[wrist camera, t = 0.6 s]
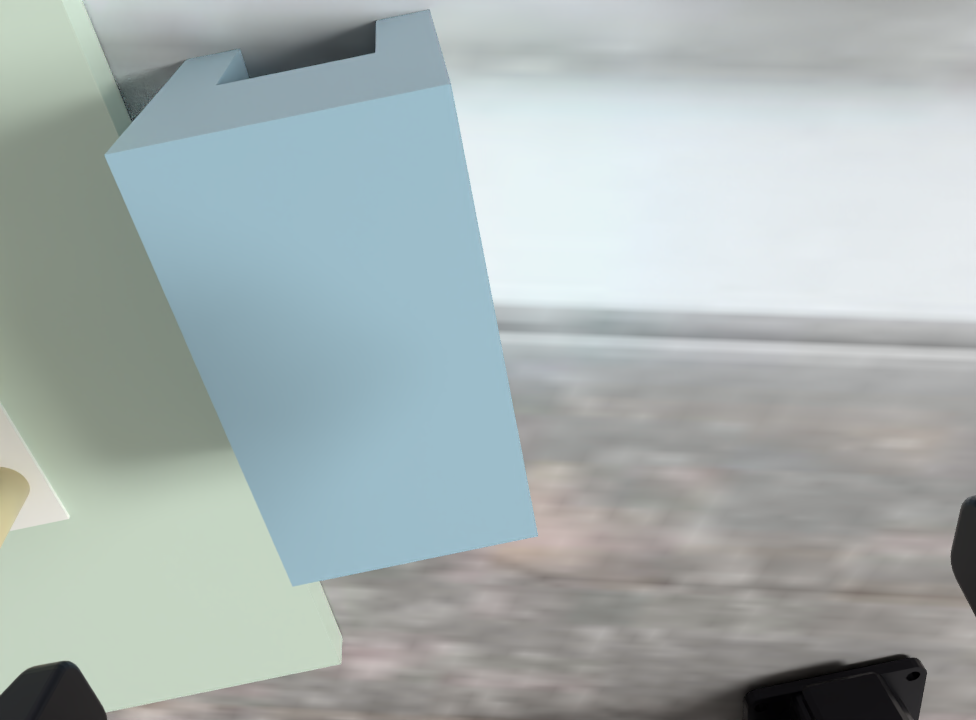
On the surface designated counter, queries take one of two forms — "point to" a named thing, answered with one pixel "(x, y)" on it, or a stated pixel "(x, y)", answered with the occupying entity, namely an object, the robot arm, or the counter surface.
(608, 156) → the counter surface
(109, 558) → the pale green flat slab
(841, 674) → the robot arm
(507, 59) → the counter surface
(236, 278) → the blue notched block
